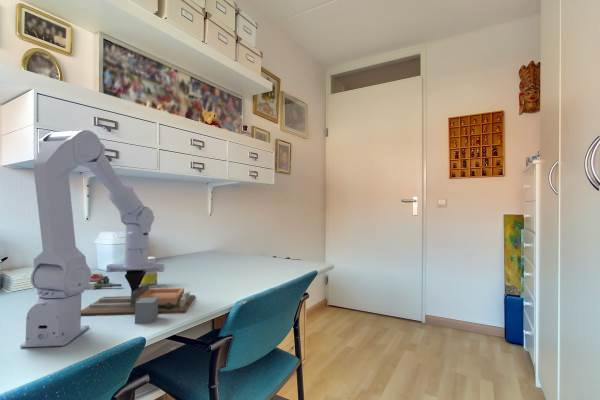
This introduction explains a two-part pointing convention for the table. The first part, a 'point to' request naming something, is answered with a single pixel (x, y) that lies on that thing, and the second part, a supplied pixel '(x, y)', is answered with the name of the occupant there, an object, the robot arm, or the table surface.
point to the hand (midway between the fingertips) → (135, 297)
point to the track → (132, 306)
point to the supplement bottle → (150, 275)
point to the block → (146, 310)
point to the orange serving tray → (157, 295)
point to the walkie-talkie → (100, 281)
